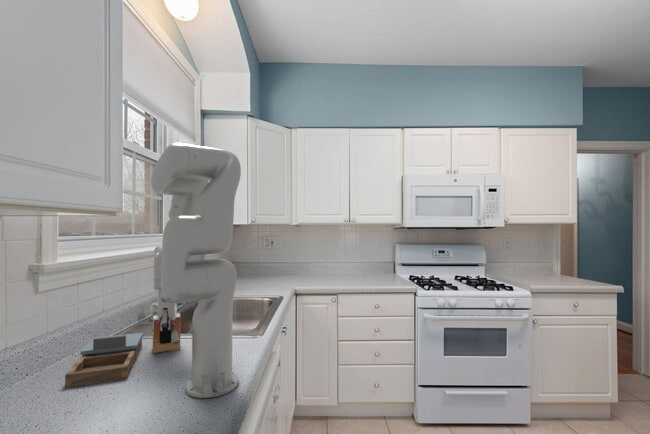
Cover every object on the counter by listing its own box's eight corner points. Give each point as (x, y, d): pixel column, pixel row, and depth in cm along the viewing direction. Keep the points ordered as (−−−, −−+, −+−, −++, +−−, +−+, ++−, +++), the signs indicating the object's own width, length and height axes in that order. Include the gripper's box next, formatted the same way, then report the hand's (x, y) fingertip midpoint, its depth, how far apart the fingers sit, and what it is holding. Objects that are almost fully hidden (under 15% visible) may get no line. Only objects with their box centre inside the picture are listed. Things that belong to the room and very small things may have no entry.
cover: (136, 348, 100) (136, 334, 100) (80, 355, 95) (80, 340, 95) (143, 335, 111) (143, 323, 111) (93, 340, 106) (93, 328, 106)
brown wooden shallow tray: (126, 378, 88) (127, 366, 88) (65, 387, 83) (65, 375, 83) (141, 346, 111) (141, 337, 111) (93, 352, 106) (94, 342, 106)
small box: (152, 354, 104) (152, 319, 104) (152, 348, 109) (152, 315, 109) (180, 349, 108) (180, 316, 108) (179, 343, 113) (179, 312, 113)
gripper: (177, 287, 102) (177, 347, 102) (180, 278, 118) (180, 330, 118) (150, 289, 99) (149, 350, 99) (157, 279, 116) (156, 332, 115)
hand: (166, 338), depth 109 cm, fingers closed on small box, 6 cm apart
